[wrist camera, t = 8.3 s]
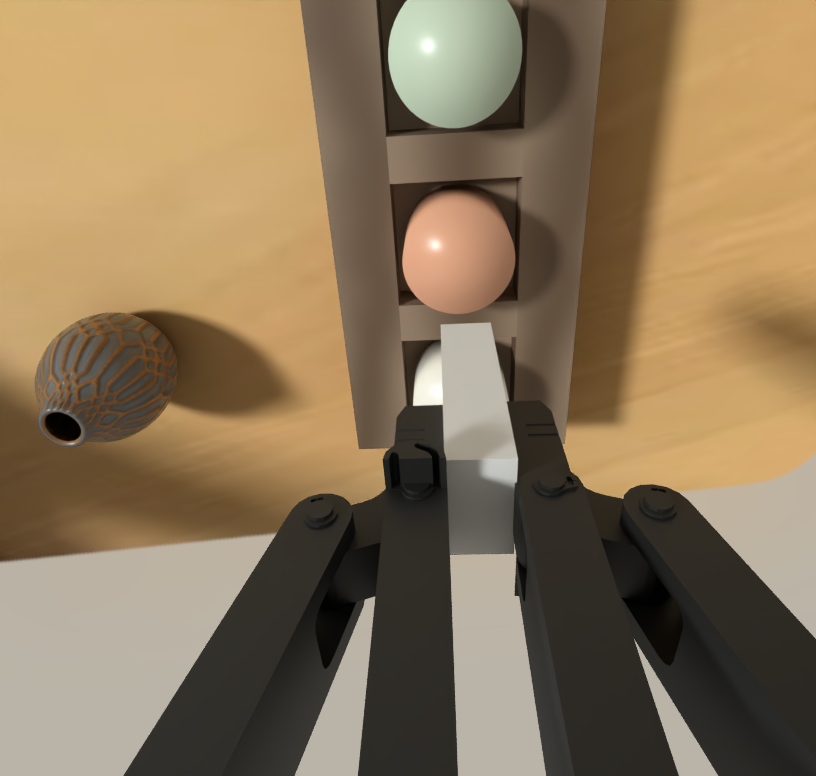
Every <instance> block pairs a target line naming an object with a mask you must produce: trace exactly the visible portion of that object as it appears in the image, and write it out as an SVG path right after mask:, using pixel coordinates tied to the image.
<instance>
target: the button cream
mask: <svg viewBox="0 0 816 776" xmlns="http://www.w3.org/2000/svg"><path fill="white" fill-rule="evenodd" d="M497 356H498V354H497ZM498 361H499V366H500V371H501V376H502V381H503V386H504V391H505V396H506V401H509V398H508V393H507V388H506V383H505V378H504V373H503V368H502V363H501V360H500V358H499V356H498ZM421 405H443V394H442V357H441V340H436V341H434V342H433V343H431V344H430V345H429V346H427V347H426V348H425V349H424V351H423V352H422V353H421V355H420V356H419V358H418V360H417V363H416V368H415V380H414V397H413V406H421Z"/></svg>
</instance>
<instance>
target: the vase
mask: <svg viewBox="0 0 816 776" xmlns="http://www.w3.org/2000/svg"><path fill="white" fill-rule="evenodd" d="M177 378H178V364H177V357H176V354H175V351H174V349H173V347H172V345H171V343H170V342H169V340H168V339H167V338H166V336H165V335H164V334H163V333H162V332H161V331H160V330H159V329H158V328H157V327H155V326H154V325H153V324H151V323H149V322H148V321H146V320H144V319H142V318H139V317H137V316H134V315H130V314H126V313H102V314H97V315H93V316H90V317H87V318H84V319H82V320H79V321H77V322H76V323H74V324H72V325H71V326H69V327H68V328H66V329H65V330H63V331H62V332H61V333H60V334H59V335H58V336H56V337H55V338H54V339H53V341H52V342H51V343H50V344H49V346H48V347H47V348H46V350H45V352H44V353H43V355H42V357H41V360H40V362H39V364H38V367H37V371H36V376H35V392H36V397H37V401H38V405H39V408H40V412H39V416H38V425H39V428H40V430H41V431H42V433H43V434H44V435H45V436H46V437H47V438H48V439H49V440H51V441H52V442H54V443H56V444H59V445H62V446H67V447H73V446H78V445H81V444H83V443H86V442H112V441H117V440H121V439H124V438H127V437H129V436H132V435H134V434H136V433H138V432H139V431H141V430H143V429H144V428H146V427H147V426H149V425H150V424H151V423H152V422H153V421H155V420H156V419H157V418H158V417H159V416H160V414H161V413H162V412H163V411H164V409H165V408H166V406H167V405H168V403H169V401H170V400H171V398H172V396H173V394H174V391H175V387H176V384H177Z"/></svg>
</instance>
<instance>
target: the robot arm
mask: <svg viewBox="0 0 816 776" xmlns="http://www.w3.org/2000/svg"><path fill="white" fill-rule="evenodd" d="M441 357H442V394H443V405H421V406H405V407H404V409H403V410H402V411H401V412H400V414H399V415H398V416H397V419H396V432H395V442H394V446H392V447H391V448H390V449H389V450H388V451H386V453H385V455H384V458H383V466H384V476H385V485H386V489H385V490H384V491H383V492H382V493H381V494H380V495H378V496H376V497H375V498H373V499H371V500H368V501H365V502H362V503H358V504H354V505H350V503H349V502H348V501H347V500H346V499H344V498H343V497H341V496H338V495H335V494H318V495H314V496H310V497H308V498H306V499H304V500H303V501H301V502H299V503H298V504H297V505H296V506H295V507H294V508H293V509H292V510H291V512H290V514H289V515H288V517H287V518H286V520H285V521H284V523H283V525H282V526H281V528H280V529H279V531H278V533H277V534H276V536H275V537H274V539H273V541H272V542H271V544H270V545H269V547H268V548H267V550H266V551H265V553H264V555H263V556H262V558H261V559H260V561H259V563H258V564H257V566H256V567H255V569H254V571H253V572H252V574H251V575H250V577H249V578H248V580H247V581H246V583H245V585H244V586H243V588H242V590H241V591H240V593H239V594H238V596H237V597H236V599H235V600H234V602H233V604H232V605H231V607H230V608H229V610H228V611H227V613H226V615H225V616H224V618H223V619H222V621H221V623H220V624H219V626H218V627H217V629H216V630H215V632H214V634H213V636H212V637H211V638H210V640H209V641H208V643H207V645H206V646H205V648H204V649H203V651H202V653H201V654H200V656H199V658H198V659H197V661H196V662H195V664H194V665H193V667H192V668H191V670H190V672H189V673H188V675H187V676H186V678H185V679H184V681H183V683H182V684H181V686H180V687H179V689H178V690H177V692H176V694H175V695H174V697H173V698H172V700H171V701H170V703H169V705H168V706H167V708H166V710H165V711H164V713H163V714H162V716H161V717H160V719H159V720H158V722H157V724H156V725H155V727H154V728H153V730H152V732H151V733H150V735H149V736H148V738H147V739H146V741H145V743H144V744H143V746H142V747H141V749H140V751H139V752H138V754H137V755H136V757H135V758H134V760H133V761H132V763H131V765H130V766H129V768H128V769H127V771H126V772H125V774H124V776H294V775H295V773H296V770H297V768H298V766H299V763H300V761H301V758H302V756H303V753H304V751H305V748H306V746H307V744H308V741H309V739H310V736H311V734H312V731H313V729H314V726H315V724H316V721H317V719H318V716H319V714H320V712H321V709H322V706H323V704H324V702H325V699H326V697H327V694H328V692H329V689H330V687H331V684H332V682H333V680H334V677H335V674H336V672H337V670H338V667H339V665H340V662H341V660H342V657H343V655H344V653H345V650H346V647H347V645H348V643H349V640H350V638H351V635H352V633H353V630H354V628H355V625H356V623H357V621H358V618H359V616H360V613H361V611H362V608H363V606H364V600H365V599H368V598H371V597H374V596H376V597H375V607H374V617H373V627H372V638H371V648H370V658H369V668H368V678H367V688H366V699H365V709H364V719H363V730H362V740H361V750H360V760H359V771H358V776H458V767H457V738H456V711H455V684H454V658H453V657H454V656H453V629H452V602H451V574H450V555H453V554H454V555H458V554H513V553H514V543H515V549H516V555H517V557H516V577H515V578H516V579H515V596H519V597H520V603H521V611H522V617H523V624H524V630H525V637H526V644H527V650H528V657H529V664H530V670H531V676H532V683H533V690H534V697H535V704H536V710H537V717H538V724H539V730H540V737H541V743H542V750H543V756H544V763H545V770H546V776H679V775H678V772H677V769H676V766H675V763H674V760H673V757H672V754H671V751H670V748H669V745H668V742H667V739H666V736H665V732H664V729H663V726H662V723H661V720H660V717H659V714H658V711H657V708H656V706H655V702H654V699H653V696H652V693H651V690H650V687H649V684H648V681H647V678H646V675H645V672H644V669H643V666H642V663H641V660H640V657H639V653H638V650H637V647H636V644H635V641H636V642H637V644H638V646H639V647H640V649H641V650H642V652H643V654H644V655H645V657H646V659H647V660H648V662H649V663H650V665H651V667H652V668H653V670H654V671H655V673H656V675H657V677H658V678H659V680H660V681H661V683H662V685H663V686H664V688H665V689H666V691H667V693H668V694H669V696H670V698H671V699H672V701H673V703H674V704H675V706H676V707H677V709H678V711H679V712H680V714H681V716H682V717H683V719H684V720H685V722H686V724H687V725H688V727H689V729H690V730H691V732H692V733H693V735H694V737H695V738H696V740H697V742H698V743H699V745H700V747H701V748H702V750H703V751H704V753H705V755H706V756H707V758H708V760H709V761H710V763H711V764H712V766H713V768H714V769H715V771H716V772H717V774H718V776H816V639H815V638H814V637H813V635H812V634H811V633H810V632H809V631H808V630H807V629H806V628H805V627H804V626H803V625H802V623H800V621H799V620H798V619H797V618H796V617H795V616H794V615H793V614H792V613H791V612H790V610H789V609H788V608H787V607H786V606H785V605H784V604H783V603H782V602H781V601H780V600H779V598H778V597H777V596H776V595H775V594H774V593H773V592H772V591H771V590H770V589H769V588H768V586H767V585H766V584H765V583H764V582H763V581H762V580H761V579H760V578H759V577H758V576H757V575H756V573H755V572H754V571H753V570H752V569H751V568H750V567H749V566H748V565H747V564H746V563H745V561H744V560H743V559H742V558H741V557H740V556H739V555H738V554H737V553H736V552H735V551H734V550H733V548H731V546H730V545H729V544H728V543H727V542H726V541H725V540H724V539H723V538H722V537H721V535H720V534H719V533H718V532H717V531H716V530H715V529H714V528H713V527H712V526H711V525H710V523H708V521H707V520H706V519H705V518H704V517H703V516H702V515H701V514H700V513H699V511H697V509H696V508H695V507H694V506H693V505H692V504H691V503H690V502H689V501H688V500H687V499H686V498H685V497H683V496H682V495H681V494H680V493H678V492H676V491H674V490H672V489H669V488H667V487H663V486H658V485H653V484H652V485H639V486H636V487H634V488H631V489H630V490H629V491H628V492H627V493H626V494H625V495H624V499H621V498H616V497H611V496H606V495H602V494H599V493H595V492H593V491H591V490H589V489H586V488H585V487H584V486H583V484H582V482H581V481H580V479H579V478H578V477H577V476H576V475H575V474H573V473H572V472H571V471H570V468H569V465H568V462H567V459H566V455H565V452H564V449H563V446H562V443H561V439H560V436H559V433H558V430H557V427H556V425H555V420H554V417H553V414H552V411H551V410H550V409H549V408H548V407H547V406H546V405H545V404H543V403H542V402H541V401H540V400H534V401H506V396H505V391H504V386H503V381H502V376H501V371H500V366H499V361H498V356H497V351H496V346H495V341H494V336H493V332H492V327H491V323H466V324H442V325H441ZM633 637H634V638H633ZM634 639H635V641H634Z"/></svg>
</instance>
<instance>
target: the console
mask: <svg viewBox="0 0 816 776" xmlns="http://www.w3.org/2000/svg"><path fill="white" fill-rule="evenodd" d="M300 1H301V9H302V17H303V24H304V32H305V40H306V47H307V55H308V63H309V70H310V78H311V85H312V93H313V101H314V108H315V116H316V124H317V131H318V139H319V147H320V154H321V162H322V170H323V177H324V185H325V193H326V200H327V208H328V216H329V223H330V231H331V238H332V246H333V254H334V261H335V269H336V277H337V284H338V292H339V300H340V307H341V315H342V323H343V330H344V338H345V346H346V353H347V361H348V369H349V376H350V384H351V391H352V399H353V407H354V414H355V422H356V430H357V437H358V445H359V449H377V448H391V447H392V446H394V442H395V432H396V419H397V416H398V415H399V414H400V412H401V411H402V410H403V409H404V407H405V406H413V397H414V380H415V368H416V363H417V360H418V358H419V356H420V355H421V353H422V352H423V351H424V349H425V348H426V347H427V346H429V345H430V344H431V343H433V342H434V341H436V340H441V325H442V324H466V323H491V327H492V332H493V336H494V341H495V346H496V351H497V354H498V356H499V358H500V360H501V363H502V368H503V373H504V378H505V383H506V388H507V393H508V398H509V401H534V400H540V401H541V402H542V403H543V404H545V405H546V406H547V407H548V408H549V409H550V410H551V411H552V414H553V417H554V420H555V425H556V427H557V430H558V433H559V436H560V439H561V443H562V444H565V436H566V425H567V414H568V404H569V393H570V383H571V372H572V361H573V351H574V340H575V329H576V319H577V308H578V298H579V287H580V276H581V266H582V255H583V245H584V234H585V223H586V213H587V202H588V192H589V181H590V170H591V160H592V149H593V138H594V128H595V117H596V107H597V96H598V85H599V75H600V64H601V54H602V43H603V32H604V22H605V11H606V1H607V0H507V1H508V2H509V4H510V5H511V7H512V9H513V11H514V12H515V15H516V17H517V20H518V23H519V27H520V30H521V37H522V60H521V66H520V71H519V74H518V77H517V80H516V82H515V84H514V87H513V89H512V91H511V92H510V94H509V96H508V97H507V99H506V100H505V101H504V102H503V104H502V105H501V106H500V107H499V108H498V109H497V110H496V111H495V112H494V113H492V114H491V115H490V116H489V117H487V118H485V119H484V120H482V121H480V122H478V123H476V124H473V125H470V126H467V127H462V128H444V127H438V126H435V125H432V124H430V123H427V122H425V121H423V120H422V119H420V118H419V117H417V116H416V115H415V114H414V113H413V112H411V111H410V110H409V109H408V107H407V106H406V105H405V104H404V103H403V101H402V100H401V98H400V97H399V95H398V93H397V91H396V89H395V87H394V84H393V81H392V78H391V74H390V70H389V62H388V48H389V39H390V35H391V30H392V27H393V24H394V22H395V19H396V17H397V15H398V13H399V11H400V10H401V8H402V6H403V5H404V3H405V2H406V1H407V0H300ZM453 184H463V185H469V186H472V187H475V188H478V189H480V190H482V191H483V192H485V193H486V194H488V195H489V196H490V197H491V198H492V199H493V200H494V201H495V202H496V203H497V205H498V206H499V208H500V210H501V212H502V214H503V217H504V219H505V222H506V225H507V227H508V230H509V233H510V236H511V238H512V241H513V244H514V249H515V267H514V271H513V275H512V277H511V280H510V282H509V284H508V286H507V287H506V289H505V290H504V292H503V293H502V294H501V295H500V296H499V297H498V298H497V299H496V300H495V301H493V302H492V303H491V304H489V305H488V306H486V307H484V308H482V309H480V310H477V311H474V312H470V313H465V314H450V313H444V312H440V311H437V310H435V309H432V308H431V307H429V306H427V305H426V304H424V303H423V302H421V301H420V300H419V299H418V298H417V297H416V296H415V295H414V293H413V292H412V291H411V289H410V287H409V286H408V284H407V281H406V279H405V276H404V272H403V265H402V258H403V250H404V243H405V237H406V230H407V224H408V220H409V217H410V215H411V213H412V211H413V209H414V208H415V206H416V205H417V204H418V202H419V201H420V200H421V199H422V198H423V197H424V196H426V195H427V194H428V193H430V192H431V191H433V190H435V189H437V188H440V187H443V186H447V185H453Z"/></svg>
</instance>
